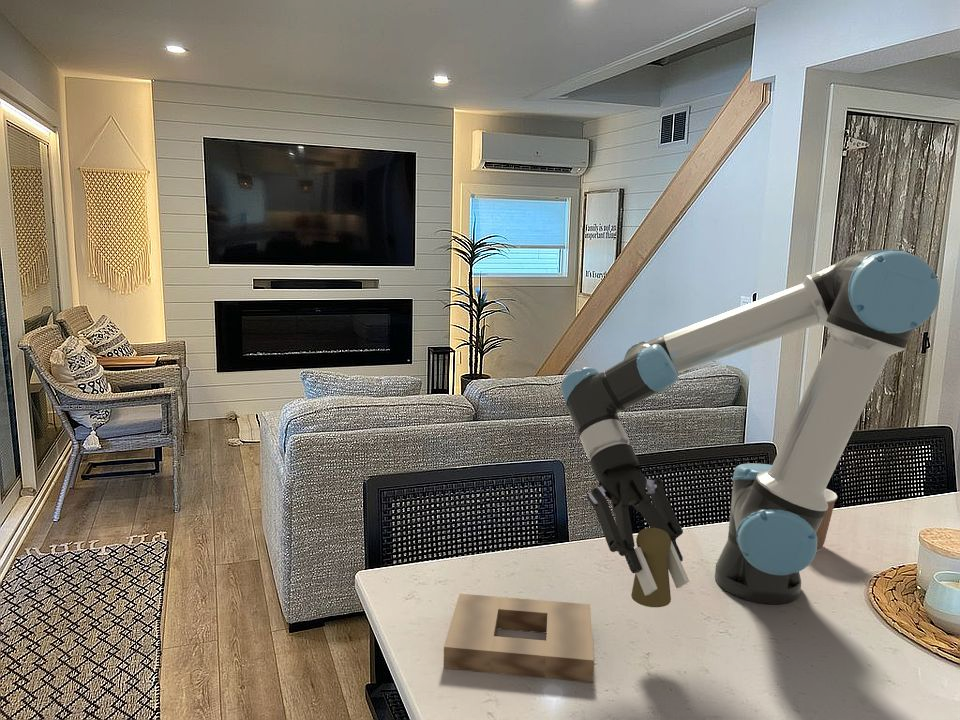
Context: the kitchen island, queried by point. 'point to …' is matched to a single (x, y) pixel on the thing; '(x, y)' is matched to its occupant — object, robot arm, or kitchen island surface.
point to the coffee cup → (825, 518)
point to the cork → (654, 567)
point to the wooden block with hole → (486, 652)
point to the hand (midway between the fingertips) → (667, 588)
